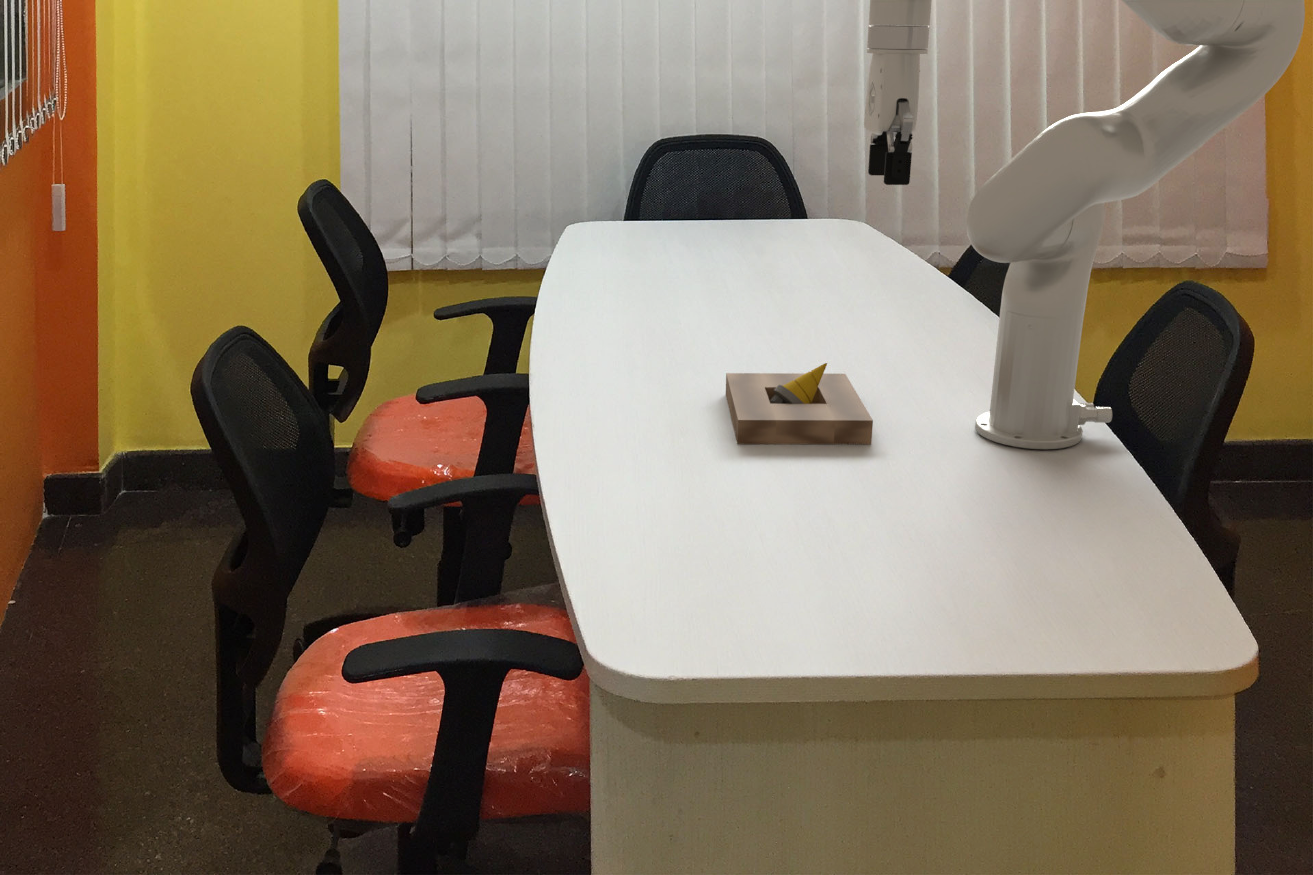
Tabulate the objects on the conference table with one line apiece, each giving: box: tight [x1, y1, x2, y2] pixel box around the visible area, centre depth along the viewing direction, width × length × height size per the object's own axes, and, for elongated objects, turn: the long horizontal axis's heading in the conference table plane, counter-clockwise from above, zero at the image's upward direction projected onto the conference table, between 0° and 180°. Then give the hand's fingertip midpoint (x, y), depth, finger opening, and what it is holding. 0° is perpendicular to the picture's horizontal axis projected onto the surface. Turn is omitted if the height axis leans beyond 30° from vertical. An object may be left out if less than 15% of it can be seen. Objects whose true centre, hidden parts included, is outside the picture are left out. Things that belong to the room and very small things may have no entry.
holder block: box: [725, 372, 874, 445], centre depth 152 cm, size 16×20×3 cm
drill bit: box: [770, 362, 828, 404], centre depth 152 cm, size 5×5×10 cm
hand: (888, 179), depth 157 cm, fingers open, 9 cm apart
